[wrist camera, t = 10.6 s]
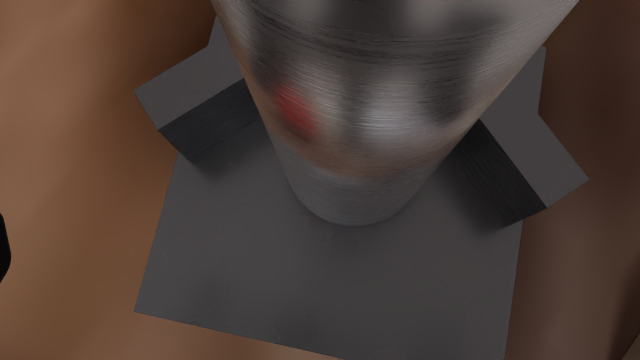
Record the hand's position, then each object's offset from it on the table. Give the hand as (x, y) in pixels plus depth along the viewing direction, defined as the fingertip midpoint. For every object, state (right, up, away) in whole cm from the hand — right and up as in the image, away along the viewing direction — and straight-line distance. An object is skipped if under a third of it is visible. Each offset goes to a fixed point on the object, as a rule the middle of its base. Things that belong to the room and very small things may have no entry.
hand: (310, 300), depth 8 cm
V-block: (+1, +2, +9) cm, 9 cm away
